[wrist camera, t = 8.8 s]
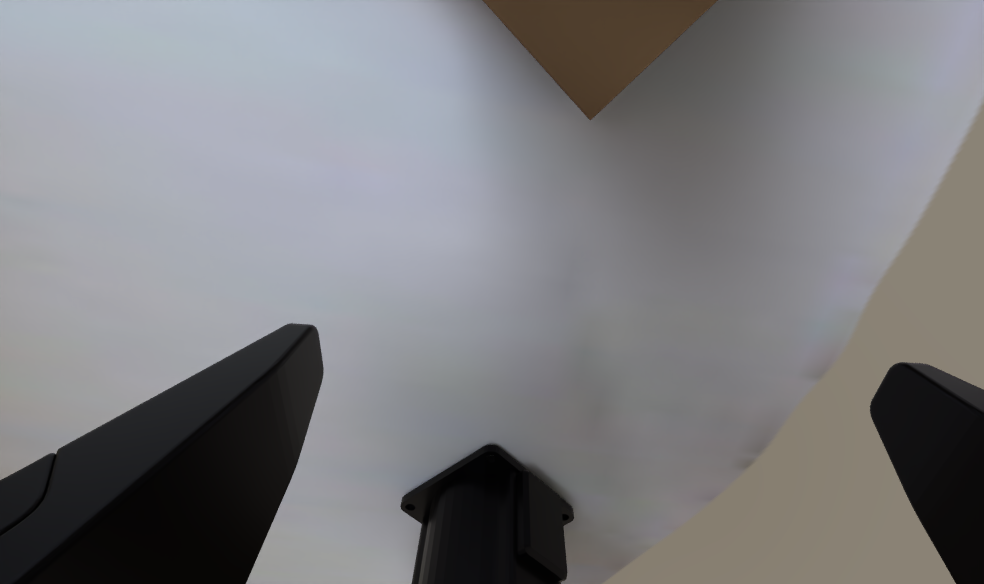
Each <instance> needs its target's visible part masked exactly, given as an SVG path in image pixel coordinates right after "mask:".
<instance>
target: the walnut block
mask: <svg viewBox="0 0 984 584" xmlns="http://www.w3.org/2000/svg"><path fill="white" fill-rule="evenodd" d="M483 1H484V2H485V3H486V5H487V6H488V7H489V8H490V9H491V10H492V11H493V12H494V13H495V15H496V16H497V17H498V18H499V19H500V20H501V21H502V22H503V24H504V25H505V26H506V27H507V28H508V29H509V30H510V31H511V32H512V34H513V35H514V36H515V37H516V38H517V39H518V40H519V41H520V43H521V44H522V45H523V46H524V47H525V48H526V49H527V50H528V51H529V53H530V54H531V55H532V56H533V57H534V58H535V59H536V60H537V62H538V63H539V64H540V65H541V66H542V67H543V68H544V69H545V70H546V72H547V73H548V74H549V75H550V76H551V77H552V78H553V79H554V81H555V82H556V83H557V84H558V85H559V86H560V87H561V88H562V89H563V91H564V92H565V93H566V94H567V95H568V96H569V97H570V98H571V100H572V101H573V102H574V103H575V104H576V105H577V106H578V107H579V108H580V110H581V111H582V112H583V113H584V114H585V115H586V116H587V117H588V119H589V120H591V119H592V118H593V117H595V116H596V115H597V114H598V113H599V112H600V111H601V110H602V109H603V108H604V107H605V106H606V105H607V104H608V103H609V102H610V101H611V100H613V99H614V98H615V97H616V96H617V95H618V94H619V93H620V92H621V91H622V90H623V89H624V88H625V87H626V86H627V85H628V84H629V83H631V82H632V81H633V80H634V79H635V78H636V77H637V76H638V75H639V74H640V73H641V72H642V71H643V70H644V69H645V68H646V67H647V66H649V65H650V64H651V63H652V62H653V61H654V60H655V59H656V58H657V57H658V56H659V55H660V54H661V53H662V52H663V51H664V50H665V49H667V48H668V47H669V46H670V45H671V44H672V43H673V42H674V41H675V40H676V39H677V38H678V37H679V36H680V35H681V34H682V33H683V32H685V31H686V30H687V29H688V28H689V27H690V26H691V25H692V24H693V23H694V22H695V21H696V20H697V19H698V18H699V17H700V16H702V15H703V14H704V13H705V12H706V11H707V10H708V9H709V8H710V7H711V6H712V5H713V4H714V3H715V2H716V1H717V0H483Z"/></svg>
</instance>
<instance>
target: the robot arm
mask: <svg viewBox="0 0 984 584" xmlns="http://www.w3.org/2000/svg"><path fill="white" fill-rule="evenodd" d="M322 379H323V361H322V354H321V347H320V340H319V334H318V331H317V328H316V327H315V326H313V325H308V324H293V323H291V324H287V325H285V326H283V327H281V328H279V329H278V330H276V331H274V332H272V333H270V334H268V335H267V336H265V337H263V338H261V339H259V340H257V341H256V342H254V343H252V344H250V345H248V346H246V347H245V348H243V349H241V350H239V351H237V352H235V353H234V354H232V355H230V356H228V357H226V358H224V359H223V360H221V361H219V362H217V363H215V364H213V365H212V366H210V367H208V368H206V369H204V370H202V371H201V372H199V373H197V374H195V375H193V376H191V377H190V378H188V379H186V380H184V381H182V382H180V383H179V384H177V385H175V386H173V387H171V388H169V389H168V390H166V391H164V392H162V393H160V394H158V395H157V396H155V397H153V398H151V399H149V400H147V401H146V402H144V403H142V404H140V405H138V406H136V407H135V408H133V409H131V410H129V411H127V412H125V413H124V414H122V415H120V416H118V417H116V418H114V419H113V420H111V421H109V422H107V423H105V424H103V425H102V426H100V427H98V428H96V429H94V430H92V431H91V432H89V433H87V434H85V435H83V436H81V437H80V438H78V439H76V440H74V441H72V442H70V443H69V444H67V445H65V446H63V447H61V448H60V449H58V451H57V453H56V454H54V453H50V454H48V455H46V456H44V457H43V458H41V459H39V460H37V461H35V462H34V463H32V464H30V465H28V466H26V467H24V468H23V469H21V470H19V471H17V472H15V473H13V474H11V475H10V476H8V477H6V478H4V479H2V480H0V584H246V582H247V580H248V577H249V575H250V573H251V570H252V568H253V566H254V563H255V561H256V559H257V557H258V554H259V552H260V550H261V547H262V545H263V543H264V540H265V538H266V536H267V534H268V531H269V529H270V527H271V524H272V522H273V520H274V517H275V515H276V513H277V510H278V508H279V506H280V504H281V501H282V499H283V497H284V494H285V492H286V490H287V487H288V485H289V483H290V480H291V478H292V475H293V473H294V470H295V468H296V465H297V462H298V459H299V456H300V453H301V450H302V446H303V443H304V440H305V436H306V433H307V430H308V427H309V423H310V420H311V417H312V413H313V410H314V407H315V403H316V400H317V397H318V393H319V390H320V387H321V383H322ZM870 413H871V417H872V420H873V422H874V424H875V427H876V429H877V431H878V433H879V435H880V438H881V440H882V442H883V444H884V446H885V448H886V451H887V453H888V455H889V457H890V460H891V462H892V464H893V466H894V468H895V470H896V473H897V475H898V477H899V479H900V481H901V484H902V486H903V488H904V490H905V492H906V495H907V497H908V498H909V501H910V503H911V505H912V507H913V509H914V511H915V512H916V514H917V516H918V518H919V520H920V522H921V523H922V525H923V527H924V528H925V530H926V532H927V534H928V536H929V537H930V539H931V541H932V542H933V544H934V546H935V548H936V549H937V551H938V553H939V555H940V556H941V558H942V560H943V561H944V563H945V565H946V567H947V569H948V570H949V572H950V574H951V576H952V577H953V579H954V581H955V582H956V584H984V390H983V389H981V388H978V387H976V386H974V385H972V384H970V383H967V382H965V381H963V380H961V379H959V378H957V377H955V376H952V375H950V374H948V373H946V372H944V371H942V370H939V369H937V368H935V367H933V366H930V365H927V364H921V363H905V362H901V363H897V364H895V365H893V366H892V367H891V368H890V369H889V370H888V372H887V374H886V376H885V378H884V379H883V381H882V383H881V385H880V387H879V388H878V390H877V392H876V394H875V396H874V398H873V399H872V401H871V405H870ZM489 455H493V456H489ZM401 509H402V510H403V511H404V512H405V513H407V514H408V515H410V516H411V517H413V518H414V519H416V520H417V521H418V522H420V523H421V524H422V527H421V533H420V539H419V545H418V550H417V556H416V562H415V568H414V574H413V580H412V584H561V582H562V581H564V580H566V577H567V563H566V552H565V541H564V530H563V526H564V525H566V524H568V523H570V522H571V521H573V519H574V514H573V508H572V507H571V506H570V505H569V504H568V503H566V502H565V501H564V500H563V499H562V498H560V496H559V495H557V494H556V493H555V492H554V491H553V490H551V489H550V488H549V487H548V486H546V485H545V484H544V483H543V482H542V481H540V480H539V479H538V478H537V477H536V476H534V475H533V474H532V473H531V472H529V471H527V470H526V469H525V468H524V467H523V466H521V465H520V464H519V463H518V462H516V461H515V460H514V459H513V458H512V457H510V456H509V455H508V454H507V453H505V452H504V451H503V450H502V449H501V448H499V447H498V446H496V445H487V446H484V447H483V448H481V449H479V450H478V451H476V452H474V453H473V454H471V455H470V456H468V457H466V458H465V459H463V460H461V461H460V462H458V463H457V464H455V465H453V466H452V467H450V468H448V469H447V470H445V471H444V472H442V473H440V474H439V475H437V476H435V477H434V478H432V479H431V480H429V481H427V482H426V483H424V484H422V485H421V486H419V487H418V488H416V489H414V490H413V491H411V492H409V493H408V494H406V495H405V496H404V497H403V498H402V502H401Z"/></svg>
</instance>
